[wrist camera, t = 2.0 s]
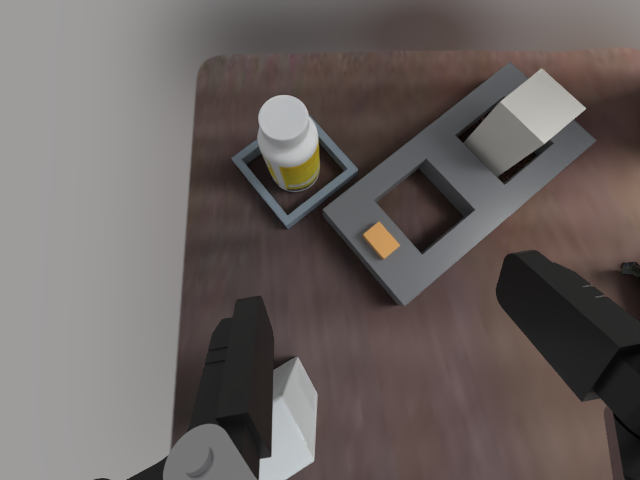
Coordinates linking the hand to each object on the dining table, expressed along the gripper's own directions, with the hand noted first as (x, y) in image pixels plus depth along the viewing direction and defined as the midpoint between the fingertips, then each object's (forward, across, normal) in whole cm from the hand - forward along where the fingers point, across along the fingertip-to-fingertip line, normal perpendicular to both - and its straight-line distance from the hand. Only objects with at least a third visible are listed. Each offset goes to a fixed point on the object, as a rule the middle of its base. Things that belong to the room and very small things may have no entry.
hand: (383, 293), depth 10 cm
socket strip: (+22, -14, +7) cm, 27 cm away
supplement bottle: (+25, +3, +4) cm, 26 cm away
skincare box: (+9, +7, +20) cm, 24 cm away
